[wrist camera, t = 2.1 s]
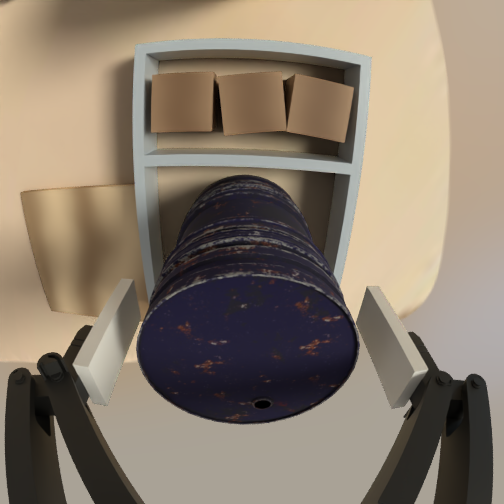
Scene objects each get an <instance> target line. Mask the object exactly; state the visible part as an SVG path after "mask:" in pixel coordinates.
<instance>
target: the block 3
mask: <svg viewBox="0 0 504 504" xmlns="http://www.w3.org/2000/svg"><path fill="white" fill-rule="evenodd" d="M353 91H354V87H350V86H347V85H343V84H339V83H335V82H331V81H327V80H323V79H319V78H314V77H310V76H305V75H300V74H294V75H293V76H291V77H290V78H288V79H287V81H286V88H285V94H284V103H285V115H286V128H287V130H286V132H292V133H297V134H303V135H308V136H313V137H318V138H323V139H328V140H333V141H337V142H342V143H345V137H346V132H347V127H348V121H349V115H350V110H351V104H352V98H353Z"/></svg>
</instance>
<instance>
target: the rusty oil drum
mask: <svg viewBox="0 0 504 504" xmlns="http://www.w3.org/2000/svg"><path fill="white" fill-rule="evenodd" d="M359 347H360V344H359V336H358V331H357V328H356V326H355V323H354V320H353V318H352V316H351V314H350V312H349V310H348V308H347V307H346V304H345V302H344V297H343V294H342V292H341V289H340V286H339V284H338V282H337V280H336V278H335V276H334V274H333V272H332V271H331V269H330V267H329V264H328V262H327V260H326V259H325V257H324V256H323V254H322V252H321V251H320V250H319V249H318V248H317V247H316V246H315V245H314V244H313V241H312V237H311V234H310V232H309V229H308V225H307V223H306V221H305V219H304V217H303V215H302V213H301V211H300V210H299V208H298V207H297V206H296V204H295V203H294V202H293V200H292V199H291V197H290V196H289V195H288V194H287V193H286V192H285V191H284V190H283V189H282V188H281V187H280V186H278V185H277V184H275V183H274V182H272V181H270V180H268V179H265V178H262V177H258V176H252V175H237V176H231V177H227V178H224V179H221V180H219V181H217V182H215V183H213V184H212V185H211V186H209V187H208V188H207V189H205V190H204V191H203V192H202V193H201V194H200V195H199V197H198V198H197V200H196V201H195V203H194V204H193V206H192V207H191V209H190V210H189V212H188V213H187V216H186V218H185V220H184V222H183V224H182V227H181V230H180V233H179V236H178V240H177V244H176V248H175V249H174V250H173V251H172V252H171V253H170V255H169V256H168V258H167V260H166V261H165V263H164V265H163V268H162V270H161V273H160V275H159V277H158V280H157V282H156V284H155V287H154V289H153V292H152V295H151V297H150V302H149V308H148V311H147V313H146V315H145V318H144V320H143V323H142V326H141V328H140V331H139V334H138V337H137V347H136V351H137V358H138V363H139V366H140V368H141V371H142V373H143V375H144V376H145V378H146V380H147V381H148V383H149V384H150V385H151V386H152V387H153V388H154V390H155V391H156V392H157V393H158V394H159V395H161V396H162V397H163V398H164V399H165V400H167V401H168V402H170V403H171V404H173V405H174V406H176V407H177V408H179V409H181V410H183V411H185V412H188V413H190V414H192V415H195V416H198V417H200V418H204V419H208V420H212V421H216V422H222V423H229V424H262V423H269V422H275V421H280V420H284V419H287V418H291V417H294V416H297V415H300V414H302V413H304V412H307V411H309V410H311V409H313V408H315V407H316V406H318V405H320V404H322V403H323V402H324V401H326V400H327V399H329V398H330V397H331V396H333V394H335V393H336V392H337V391H338V390H339V389H340V388H341V387H342V386H343V385H344V383H345V382H346V381H347V380H348V378H349V377H350V375H351V373H352V371H353V370H354V368H355V365H356V362H357V359H358V355H359Z"/></svg>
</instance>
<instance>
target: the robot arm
mask: <svg viewBox="0 0 504 504" xmlns="http://www.w3.org/2000/svg"><path fill="white" fill-rule="evenodd" d="M140 319H141V315H140V310H139V305H138V300H137V294H136V289H135V283H134V279H123V278H121V280H120V282H119V283H118V285H117V286H116V288H115V290H114V291H113V293H112V295H111V296H110V298H109V300H108V301H107V303H106V305H105V306H104V308H103V310H102V311H101V313H100V315H99V317H98V318H97V320H96V322H95V324H94V325H93V326H89V325H85V326H84V327H82V328H81V329H80V330H79V331H78V332H77V334H76V336H75V337H74V340H73V341H72V343H71V346H69V348H68V350H67V351H66V353H65V355H64V357H63V358H62V356H61V355H60V354H58V353H54V352H51V353H47V354H45V355H43V356H42V357H41V358H40V359H39V361H38V363H37V369H38V370H39V372H40V374H41V375H31V373H30V372H29V370H28V369H26V368H18V369H15V370H14V371H13V372H12V373H11V374H10V376H9V379H8V388H7V399H6V414H5V462H6V463H5V464H6V478H7V488H8V496H9V504H67V503H66V499H65V494H64V489H63V484H62V479H61V474H60V468H59V462H58V455H57V447H56V439H55V428H54V416H56V419H57V422H58V425H59V427H60V430H61V433H62V435H63V438H64V440H65V443H66V445H67V448H68V450H69V453H70V455H71V457H72V459H73V462H74V464H75V465H76V468H77V470H78V472H79V474H80V477H81V478H82V481H83V483H84V485H85V486H86V488H87V490H88V492H89V494H90V496H91V498H92V500H93V501H94V503H95V504H145V503H144V502H143V501H142V499H141V498H140V496H139V495H138V493H137V492H136V490H135V489H134V487H133V486H132V484H131V483H130V481H129V480H128V478H127V477H126V475H125V473H124V472H123V470H122V468H121V467H120V465H119V463H118V462H117V460H116V459H115V457H114V455H113V453H112V452H111V450H110V448H109V446H108V444H107V442H106V440H105V439H104V437H103V435H102V433H101V431H100V429H99V427H98V425H97V423H96V421H95V419H94V417H93V415H92V412H91V410H90V408H89V406H88V404H87V400H88V398H89V397H90V399H91V400H92V402H93V403H95V404H100V405H104V406H108V403H109V400H110V397H111V394H112V392H113V389H114V386H115V383H116V380H117V378H118V375H119V372H120V370H121V367H122V364H123V362H124V359H125V357H126V354H127V351H128V349H129V346H130V344H131V341H132V339H133V336H134V334H135V331H136V329H137V327H138V324H139V322H140ZM356 325H357V327H358V329H359V331H360V333H361V336H362V338H363V340H364V343H365V345H366V347H367V349H368V352H369V354H370V357H371V359H372V362H373V364H374V366H375V369H376V371H377V374H378V376H379V378H380V381H381V383H382V386H383V388H384V391H385V393H386V396H387V399H388V401H389V404H390V406H391V409H393V408H399V407H404V406H405V405H406V403H407V402H408V400H409V399H410V401H411V403H412V406H411V407H410V408H409V410H408V411H407V413H406V414H405V415H404V418H405V417H406V418H405V421H404V423H403V425H402V427H401V430H400V432H399V434H398V436H397V438H396V441H395V443H394V445H393V447H392V449H391V451H390V453H389V455H388V457H387V459H386V461H385V463H384V464H383V466H382V468H381V470H380V472H379V474H378V475H377V477H376V479H375V481H374V482H373V484H372V486H371V488H370V489H369V491H368V493H367V494H366V496H365V498H364V499H363V501H362V502H361V504H414V502H415V501H416V498H417V496H418V494H419V492H420V490H421V487H422V485H423V483H424V480H425V478H426V475H427V473H428V470H429V468H430V465H431V463H432V460H433V457H434V454H435V451H436V449H437V446H438V443H439V439H440V436H441V449H440V462H439V471H438V479H437V486H436V493H435V499H434V504H491V502H492V487H493V444H492V428H491V417H490V407H489V400H488V392H487V387H486V382H485V381H484V379H483V378H482V377H481V376H479V375H477V374H470V375H469V376H468V377H467V378H466V380H465V381H461V380H453V378H452V377H451V376H450V375H449V374H448V373H446V372H444V371H439V369H438V368H437V366H436V364H435V362H434V360H433V359H432V357H431V355H430V354H429V352H428V350H427V349H426V347H425V346H424V344H423V342H422V340H421V339H420V337H418V336H417V335H416V334H415V333H414V332H407V331H406V329H405V328H404V326H403V324H402V323H401V321H400V319H399V318H398V316H397V314H396V313H395V311H394V310H393V308H392V306H391V305H390V303H389V302H388V300H387V298H386V297H385V295H384V294H383V292H382V291H381V289H380V288H379V286H367V288H366V292H365V295H364V299H363V302H362V305H361V309H360V312H359V315H358V318H357V321H356Z"/></svg>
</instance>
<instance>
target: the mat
mask: <svg viewBox="0 0 504 504" xmlns="http://www.w3.org/2000/svg"><path fill="white" fill-rule="evenodd" d="M21 198H22V204H23V210H24V215H25V220H26V225H27V229H28V234H29V238H30V242H31V246H32V250H33V254H34V258H35V261H36V265H37V268H38V272H39V275H40V278H41V281H42V285H43V288H44V291H45V294H46V297H47V299H48V302H49V305H50V308H51V311H57V312H63V313H71V314H78V315H86V316H94V317H99V315H100V313H101V311H102V310H103V308H104V306H105V305H106V303H107V301H108V300H109V298H110V296H111V295H112V293H113V291H114V290H115V288H116V286H117V285H118V283H119V282H120V280H121V278H123V279H134V283H135V289H136V294H137V300H138V305H139V310H140V315H141V319H140V321H143V320H144V318H145V315H146V313H147V311H148V308H149V301H148V295H147V289H146V283H145V276H144V269H143V262H142V254H141V246H140V238H139V229H138V219H137V208H136V196H135V184H125V185H100V186H82V187H67V188H54V189H42V190H31V191H24V192H22V193H21Z"/></svg>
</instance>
